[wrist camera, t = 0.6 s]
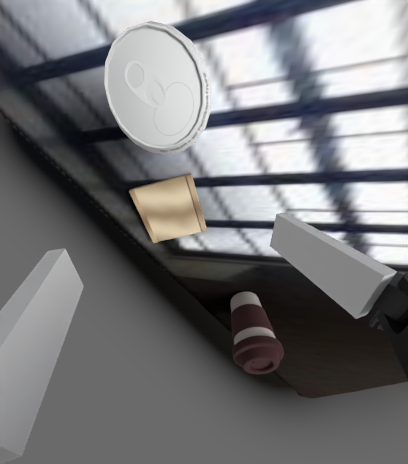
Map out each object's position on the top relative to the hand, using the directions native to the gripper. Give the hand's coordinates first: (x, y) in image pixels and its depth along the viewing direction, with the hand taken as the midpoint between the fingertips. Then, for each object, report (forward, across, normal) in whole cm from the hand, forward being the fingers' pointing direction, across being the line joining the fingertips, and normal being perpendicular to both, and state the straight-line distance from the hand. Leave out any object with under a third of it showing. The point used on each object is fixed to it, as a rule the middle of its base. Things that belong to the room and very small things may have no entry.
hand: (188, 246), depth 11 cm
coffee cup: (+18, +17, -32) cm, 40 cm away
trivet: (+22, +2, -6) cm, 23 cm away
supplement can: (+21, +4, +9) cm, 23 cm away
